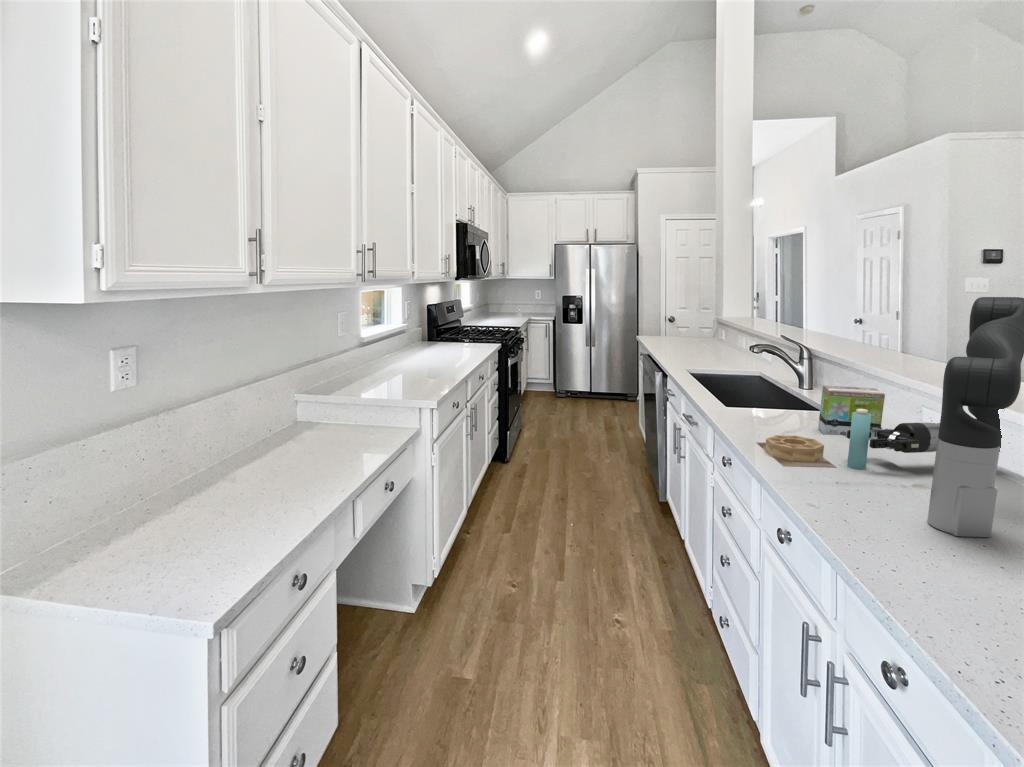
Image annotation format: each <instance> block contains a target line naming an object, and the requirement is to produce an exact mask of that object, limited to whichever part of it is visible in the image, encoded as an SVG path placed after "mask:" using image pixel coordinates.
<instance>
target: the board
mask: <svg viewBox="0 0 1024 767" xmlns="http://www.w3.org/2000/svg"><path fill="white" fill-rule="evenodd" d="M755 444H757V445H758V446H759V447H760V448H761V449H762V450H764V451H765V448H766V442H758V441H757V442H755ZM767 454H768V455H770V454H769V453H767ZM772 458H773V459H774V460H775V461H777V462H778V463H779V464H780V465H781V466H782V467H793V468H794V467H795V468H797V467H798V468H828V469H829V468H832V469H833V468H834V469H837V468H838V466H836V465H834V464H833V463H831V462H830V461H829V460H827V459H826V458H824V457H823V458H821V459H819V460H817V461H814V462H806V461H789V460H785V459H781V458H777V457H772Z"/></svg>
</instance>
